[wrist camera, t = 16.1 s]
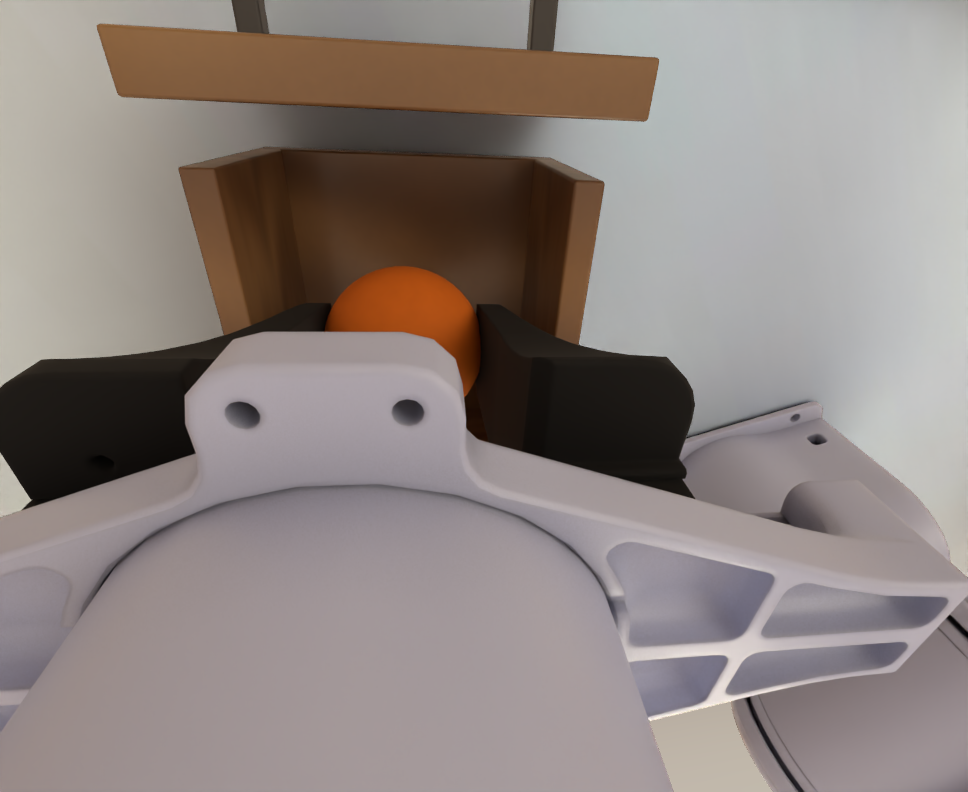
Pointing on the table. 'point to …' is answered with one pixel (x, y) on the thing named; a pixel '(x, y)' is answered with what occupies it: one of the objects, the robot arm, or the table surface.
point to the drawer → (388, 167)
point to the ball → (412, 313)
